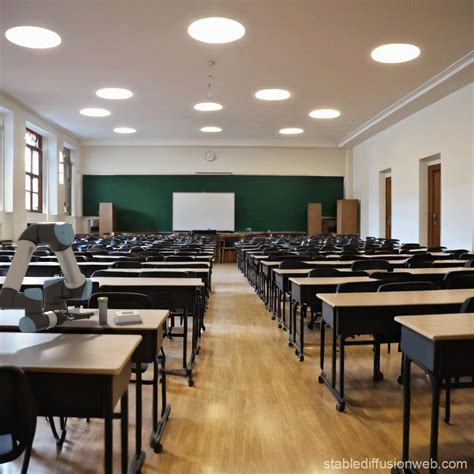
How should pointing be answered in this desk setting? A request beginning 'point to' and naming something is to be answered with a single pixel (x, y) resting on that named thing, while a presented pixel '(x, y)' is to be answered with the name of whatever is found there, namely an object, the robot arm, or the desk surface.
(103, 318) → the grey metal peg
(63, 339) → the desk surface
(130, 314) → the socket block
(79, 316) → the robot arm
